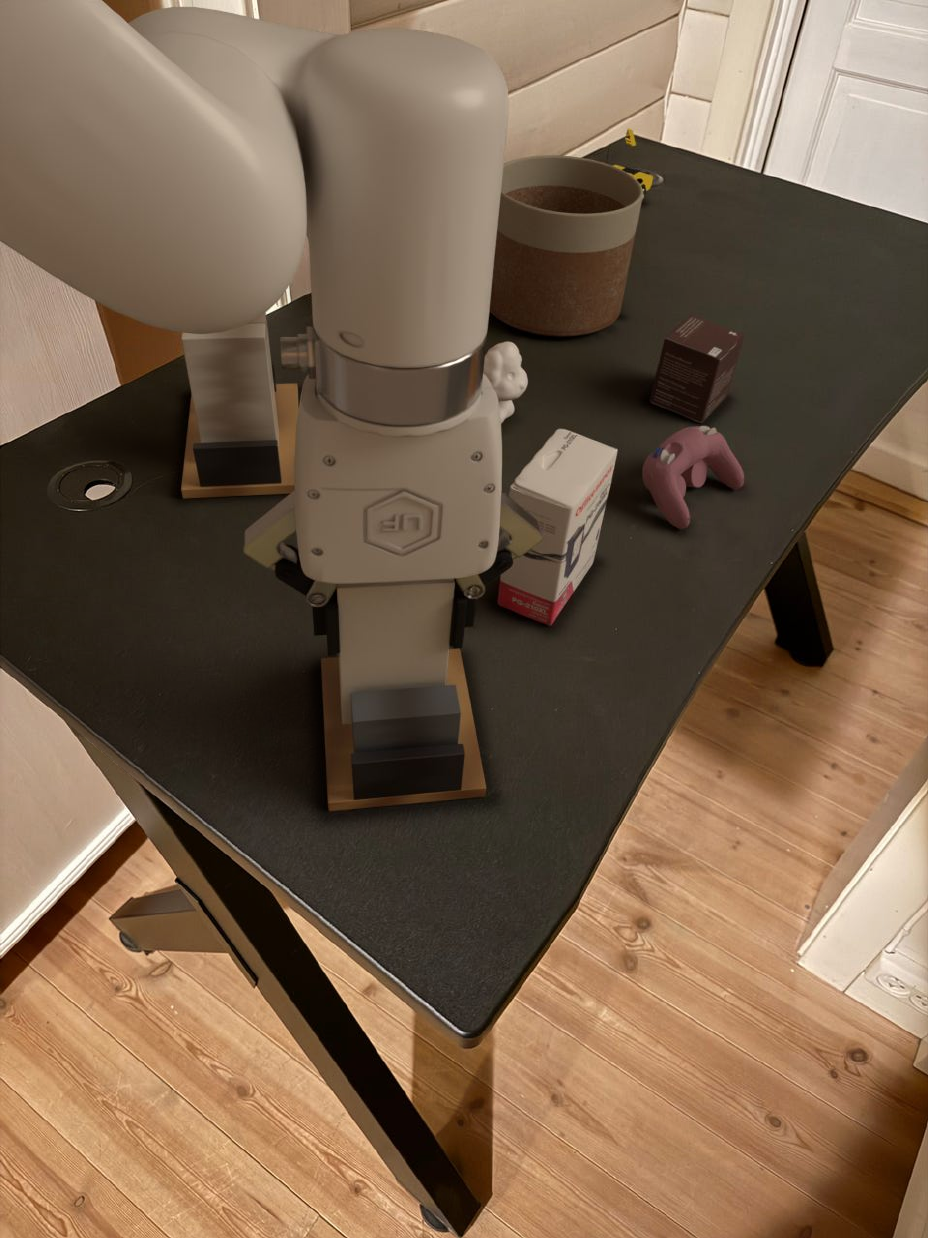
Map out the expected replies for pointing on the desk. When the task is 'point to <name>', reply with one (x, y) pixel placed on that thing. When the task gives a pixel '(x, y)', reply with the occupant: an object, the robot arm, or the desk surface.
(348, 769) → the grey shelf
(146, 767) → the desk surface
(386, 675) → the white book
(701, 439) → the video game controller
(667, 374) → the box
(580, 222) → the planter
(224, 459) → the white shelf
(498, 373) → the figurine
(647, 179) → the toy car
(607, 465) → the ink box
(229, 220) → the robot arm
